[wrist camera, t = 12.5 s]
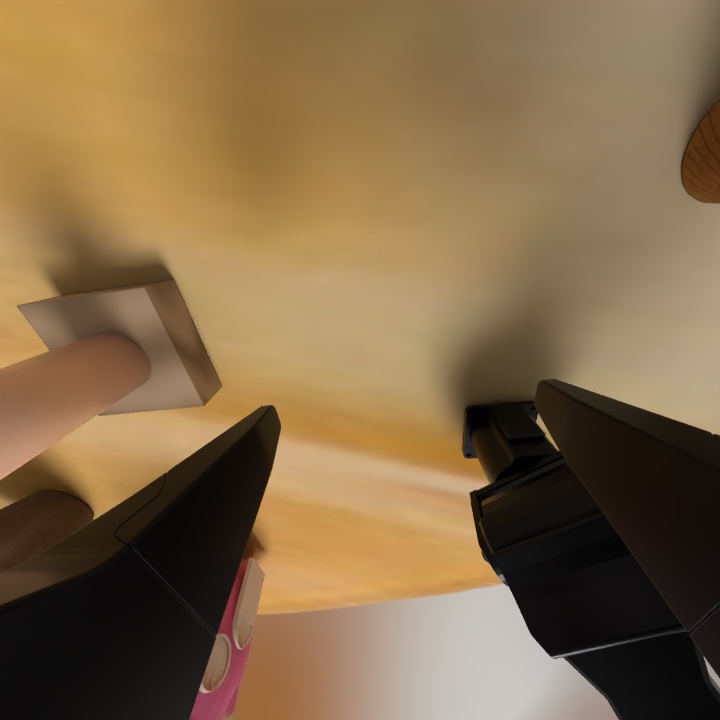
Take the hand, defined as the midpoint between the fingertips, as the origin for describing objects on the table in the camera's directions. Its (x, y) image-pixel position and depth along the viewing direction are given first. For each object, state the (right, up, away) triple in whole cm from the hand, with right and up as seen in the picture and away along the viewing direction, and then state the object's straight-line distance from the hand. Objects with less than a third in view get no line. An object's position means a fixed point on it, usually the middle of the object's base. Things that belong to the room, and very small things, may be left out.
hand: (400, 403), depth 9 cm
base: (-20, +3, +14) cm, 25 cm away
